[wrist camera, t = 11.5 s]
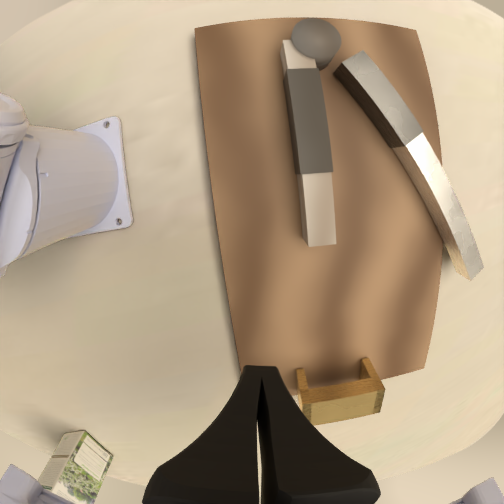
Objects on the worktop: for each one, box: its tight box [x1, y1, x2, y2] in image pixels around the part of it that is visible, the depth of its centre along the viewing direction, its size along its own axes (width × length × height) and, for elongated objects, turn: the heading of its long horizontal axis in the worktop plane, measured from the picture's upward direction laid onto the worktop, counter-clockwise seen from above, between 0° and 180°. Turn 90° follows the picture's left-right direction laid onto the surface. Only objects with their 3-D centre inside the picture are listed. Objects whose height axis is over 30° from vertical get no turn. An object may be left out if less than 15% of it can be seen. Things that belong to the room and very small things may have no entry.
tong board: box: [195, 18, 443, 395], centre depth 17 cm, size 16×28×4 cm, turn 7°
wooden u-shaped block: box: [296, 358, 385, 425], centre depth 19 cm, size 6×2×4 cm, turn 97°
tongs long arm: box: [333, 50, 484, 281], centre depth 15 cm, size 2×17×2 cm, turn 39°
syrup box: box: [38, 431, 113, 504], centre depth 20 cm, size 6×6×14 cm
